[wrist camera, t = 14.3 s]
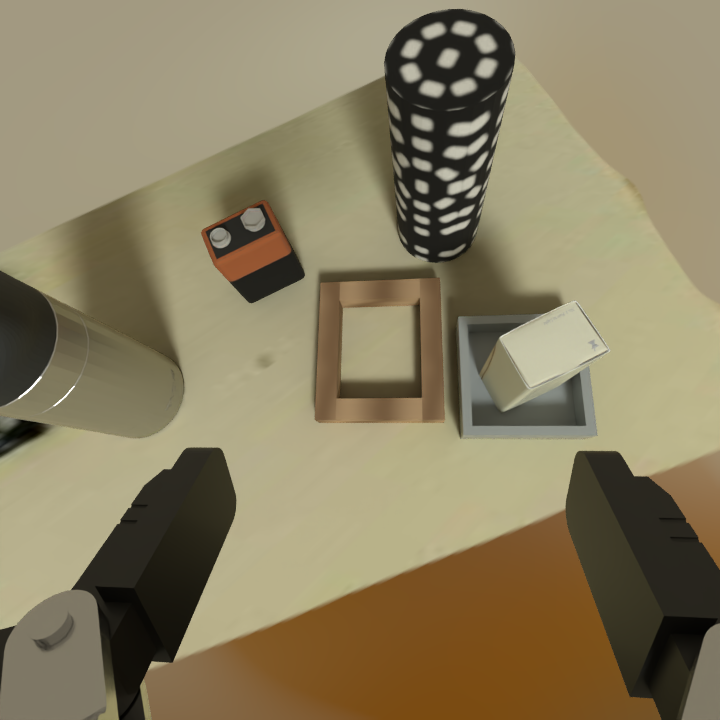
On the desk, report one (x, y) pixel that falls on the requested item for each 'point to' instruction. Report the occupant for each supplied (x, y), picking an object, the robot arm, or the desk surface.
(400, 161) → the white-spotted black cylinder
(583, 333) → the skincare box
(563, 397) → the tray
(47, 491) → the desk surface
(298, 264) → the battery
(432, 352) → the brown flat rectangular frame
